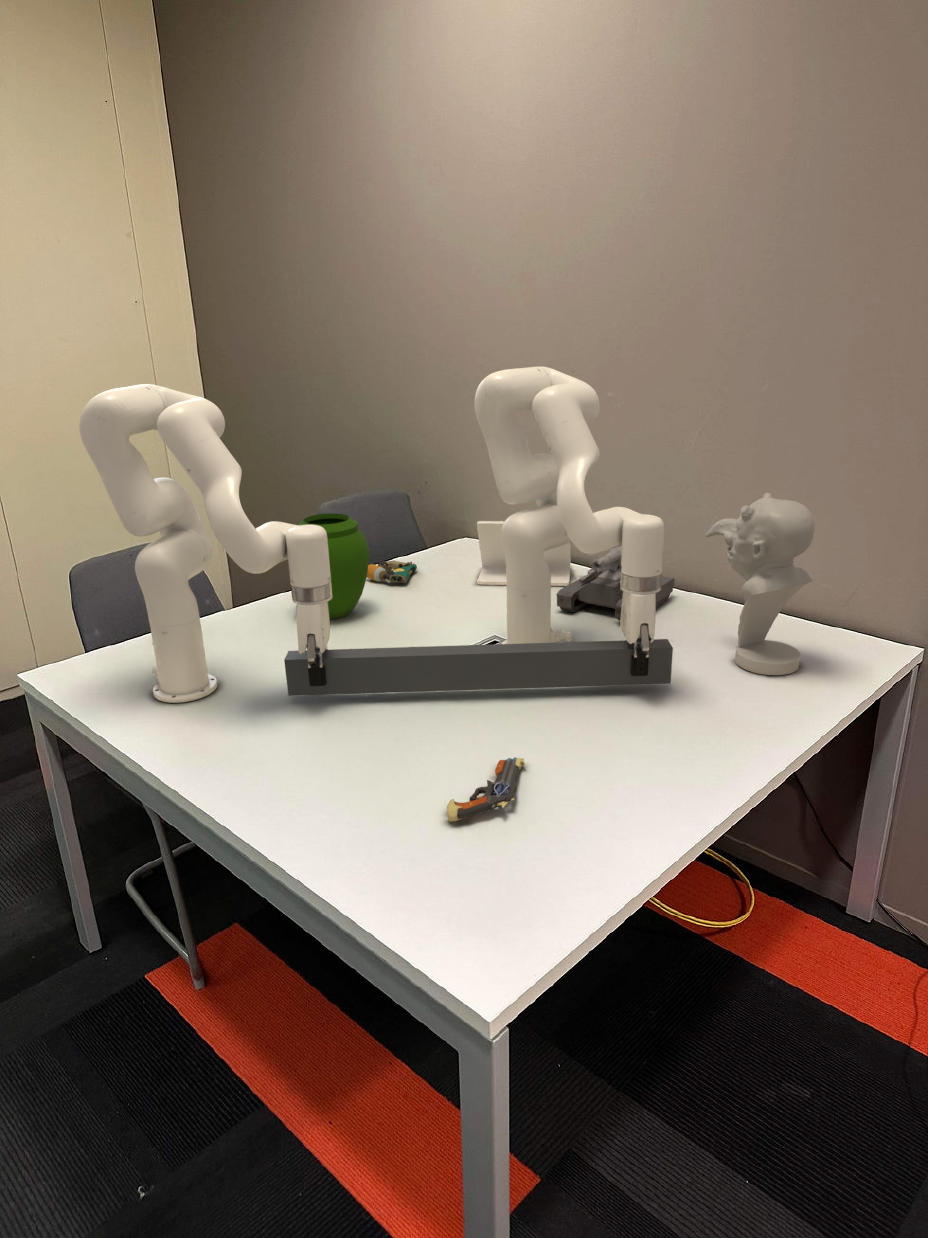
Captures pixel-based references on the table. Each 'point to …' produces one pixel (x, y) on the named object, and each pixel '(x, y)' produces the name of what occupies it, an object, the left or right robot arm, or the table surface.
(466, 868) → the table surface
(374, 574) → the spray gun
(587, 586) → the toy
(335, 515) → the vase
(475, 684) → the post
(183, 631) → the left robot arm
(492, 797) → the toy gun
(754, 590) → the bust sculpture
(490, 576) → the tablet stand
